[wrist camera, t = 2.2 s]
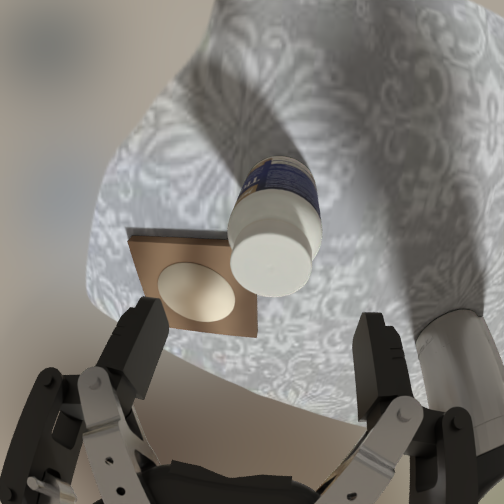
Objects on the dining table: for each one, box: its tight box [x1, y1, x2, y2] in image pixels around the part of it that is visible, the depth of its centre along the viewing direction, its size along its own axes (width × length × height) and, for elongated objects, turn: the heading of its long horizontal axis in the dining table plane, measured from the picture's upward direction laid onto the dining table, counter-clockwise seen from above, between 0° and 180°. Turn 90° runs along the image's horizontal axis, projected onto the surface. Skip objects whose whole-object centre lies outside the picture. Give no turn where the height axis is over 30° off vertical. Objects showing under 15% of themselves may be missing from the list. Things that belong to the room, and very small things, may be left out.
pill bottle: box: [227, 156, 322, 297], centre depth 18 cm, size 5×5×10 cm
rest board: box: [127, 236, 258, 338], centre depth 29 cm, size 12×12×1 cm
